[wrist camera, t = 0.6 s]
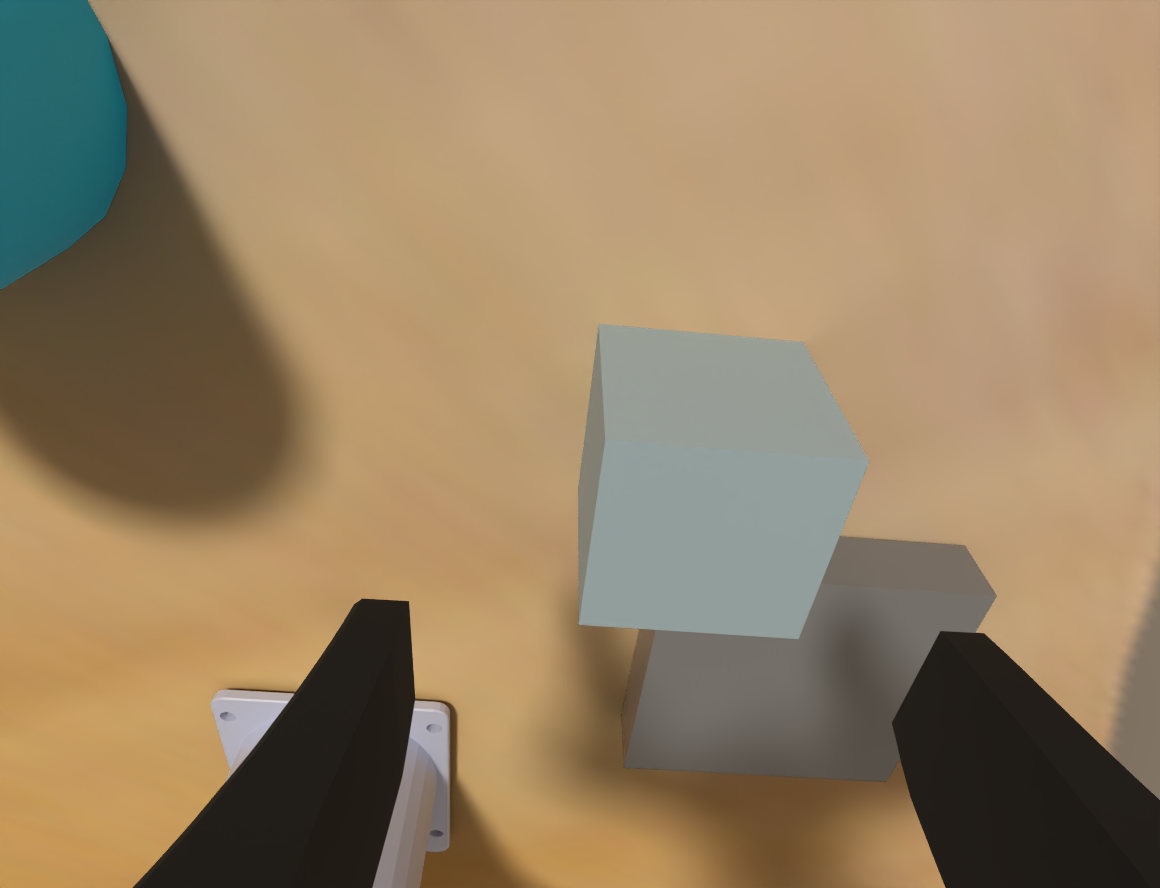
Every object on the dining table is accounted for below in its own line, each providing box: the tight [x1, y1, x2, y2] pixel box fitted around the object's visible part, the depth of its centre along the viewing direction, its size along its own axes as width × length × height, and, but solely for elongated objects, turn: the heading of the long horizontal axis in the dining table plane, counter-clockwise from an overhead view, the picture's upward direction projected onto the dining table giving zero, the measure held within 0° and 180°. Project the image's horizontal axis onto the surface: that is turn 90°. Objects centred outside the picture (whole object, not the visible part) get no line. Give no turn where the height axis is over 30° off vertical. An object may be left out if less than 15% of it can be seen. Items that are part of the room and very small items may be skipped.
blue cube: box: [578, 324, 869, 639], centre depth 17 cm, size 5×5×5 cm
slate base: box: [621, 536, 997, 782], centre depth 23 cm, size 9×9×2 cm
